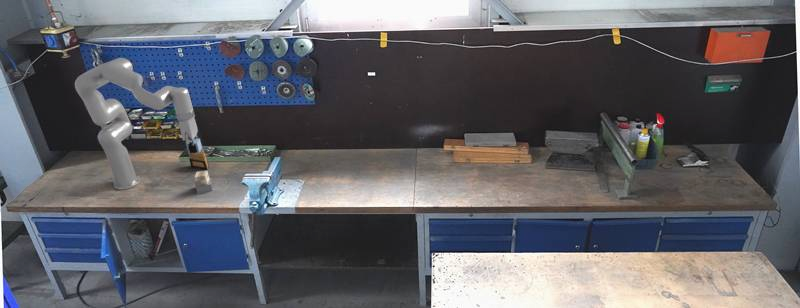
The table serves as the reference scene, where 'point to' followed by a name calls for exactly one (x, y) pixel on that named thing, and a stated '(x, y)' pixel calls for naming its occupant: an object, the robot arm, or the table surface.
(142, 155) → the table surface
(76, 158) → the table surface
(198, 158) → the ammunition clip
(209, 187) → the base block
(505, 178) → the table surface
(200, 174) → the maple cube
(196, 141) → the blue cube
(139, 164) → the table surface
